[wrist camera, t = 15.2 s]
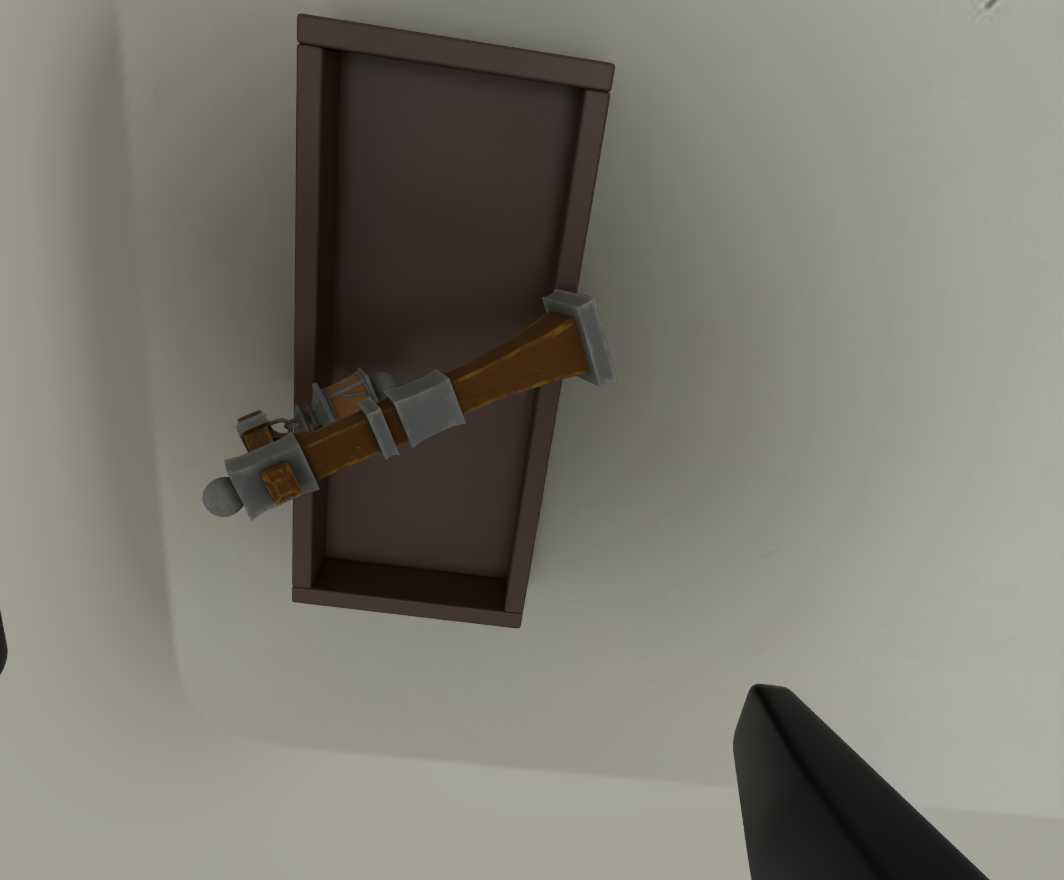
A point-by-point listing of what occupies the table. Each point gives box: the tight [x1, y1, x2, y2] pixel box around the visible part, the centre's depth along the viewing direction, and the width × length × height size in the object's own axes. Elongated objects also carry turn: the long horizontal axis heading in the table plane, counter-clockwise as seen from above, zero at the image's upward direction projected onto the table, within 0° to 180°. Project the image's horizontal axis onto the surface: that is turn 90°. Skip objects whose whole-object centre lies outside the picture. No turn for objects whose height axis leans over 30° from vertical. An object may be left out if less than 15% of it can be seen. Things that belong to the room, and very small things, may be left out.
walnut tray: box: [292, 14, 615, 628], centre depth 18 cm, size 14×6×2 cm, turn 172°
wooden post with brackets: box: [203, 289, 617, 521], centre depth 16 cm, size 2×8×4 cm, turn 107°
